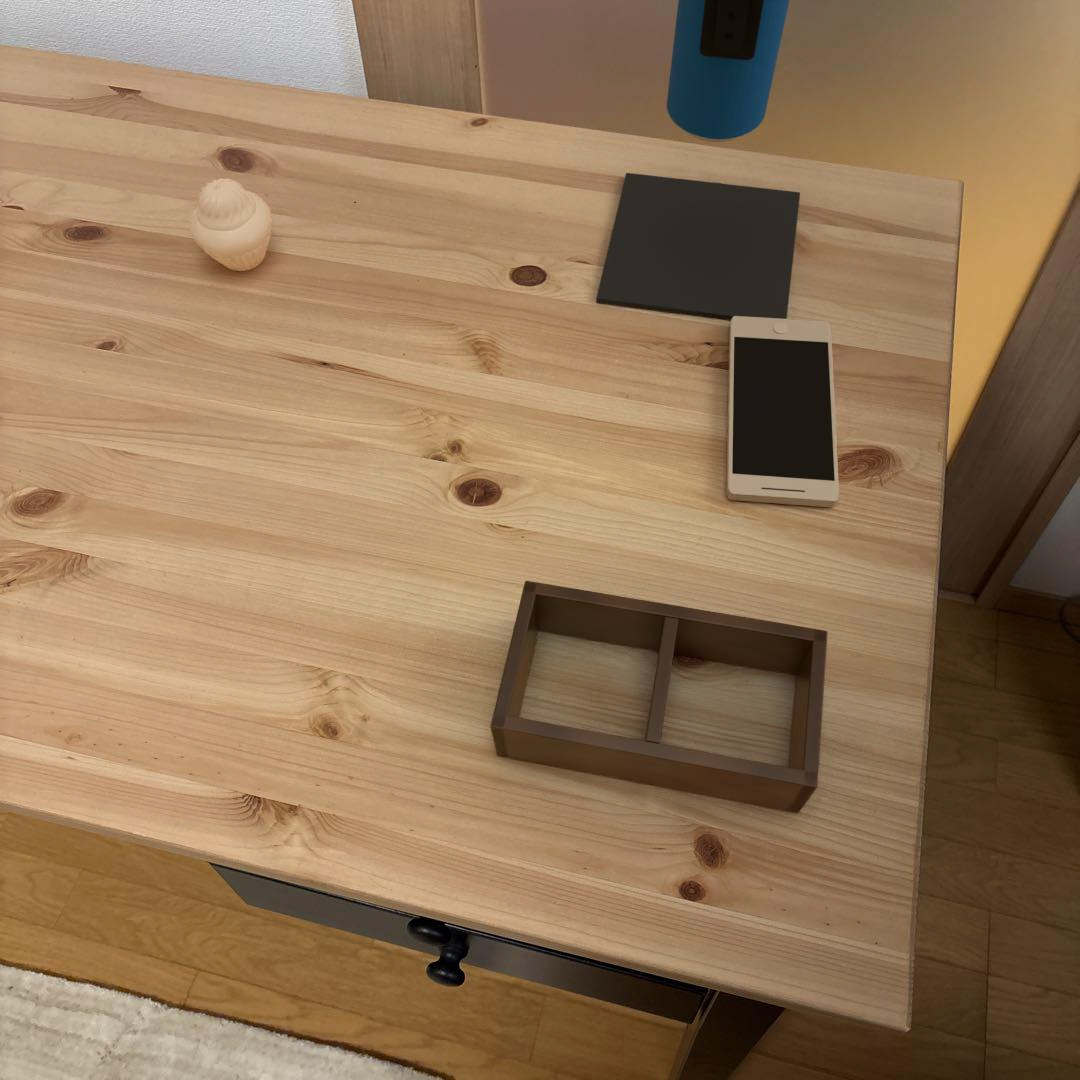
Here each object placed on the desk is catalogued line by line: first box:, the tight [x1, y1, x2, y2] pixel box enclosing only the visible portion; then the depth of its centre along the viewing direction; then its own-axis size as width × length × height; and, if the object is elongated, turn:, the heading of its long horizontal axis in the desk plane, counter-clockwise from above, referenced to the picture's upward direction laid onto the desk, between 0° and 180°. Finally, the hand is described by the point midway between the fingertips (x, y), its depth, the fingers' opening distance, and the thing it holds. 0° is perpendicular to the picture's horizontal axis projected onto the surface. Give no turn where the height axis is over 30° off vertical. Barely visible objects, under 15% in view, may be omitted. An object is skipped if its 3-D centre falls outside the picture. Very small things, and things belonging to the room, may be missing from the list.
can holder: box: [490, 580, 829, 814], centre depth 57 cm, size 17×9×5 cm, turn 78°
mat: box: [595, 172, 801, 321], centre depth 77 cm, size 14×14×1 cm
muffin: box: [189, 177, 273, 272], centre depth 76 cm, size 6×6×7 cm
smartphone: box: [726, 316, 840, 508], centre depth 69 cm, size 7×16×1 cm, turn 174°
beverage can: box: [666, 0, 790, 143], centre depth 61 cm, size 6×6×12 cm
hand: (733, 16), depth 60 cm, fingers closed on beverage can, 6 cm apart
